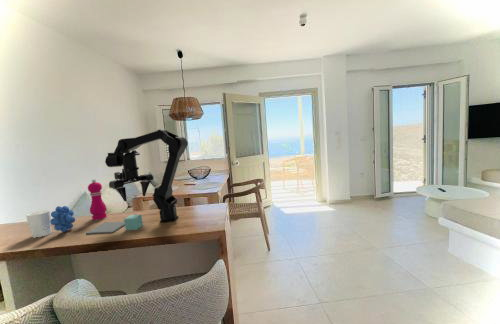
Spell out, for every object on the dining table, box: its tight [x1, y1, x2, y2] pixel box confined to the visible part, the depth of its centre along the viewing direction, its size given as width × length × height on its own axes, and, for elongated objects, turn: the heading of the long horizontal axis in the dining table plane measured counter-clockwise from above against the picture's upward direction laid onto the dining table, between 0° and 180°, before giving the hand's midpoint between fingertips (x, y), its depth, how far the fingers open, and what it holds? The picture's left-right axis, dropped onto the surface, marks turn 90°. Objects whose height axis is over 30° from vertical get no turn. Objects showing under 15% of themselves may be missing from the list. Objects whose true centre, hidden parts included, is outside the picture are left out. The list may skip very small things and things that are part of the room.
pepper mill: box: [87, 179, 108, 221], centre depth 125 cm, size 7×7×20 cm
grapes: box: [50, 205, 76, 233], centre depth 109 cm, size 12×7×12 cm, turn 175°
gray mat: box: [85, 221, 125, 235], centre depth 110 cm, size 12×12×1 cm
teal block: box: [123, 214, 144, 231], centre depth 108 cm, size 5×5×5 cm
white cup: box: [26, 209, 53, 239], centre depth 108 cm, size 8×8×10 cm
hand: (134, 198), depth 117 cm, fingers open, 9 cm apart
